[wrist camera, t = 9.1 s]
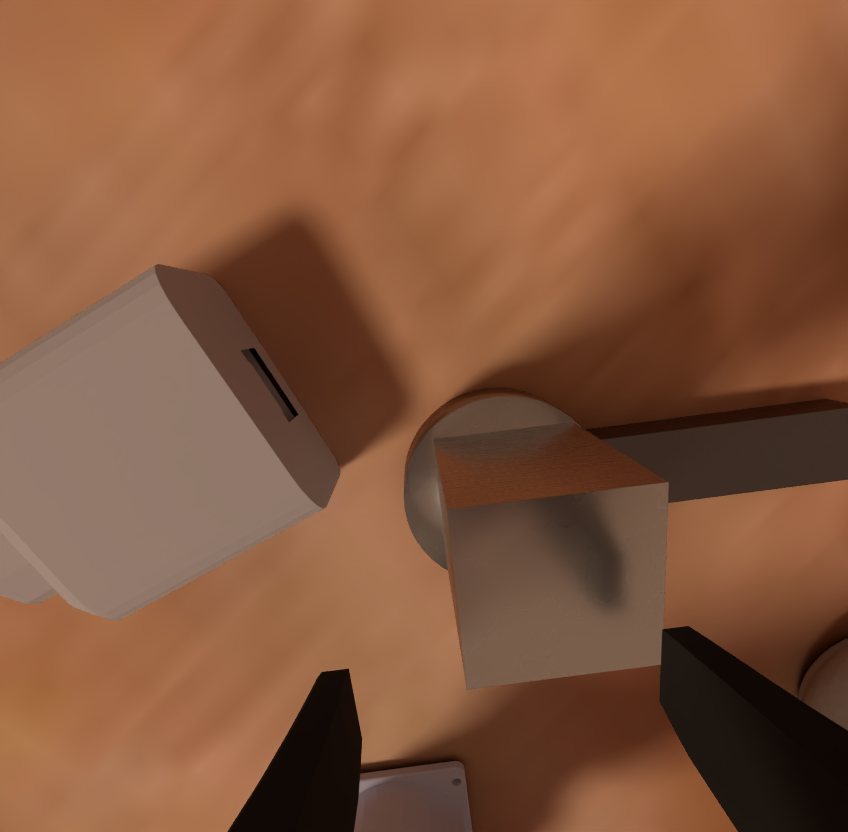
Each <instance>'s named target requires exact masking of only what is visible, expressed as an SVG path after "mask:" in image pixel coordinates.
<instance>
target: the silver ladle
mask: <svg viewBox="0 0 848 832" xmlns="http://www.w3.org/2000/svg"><path fill="white" fill-rule="evenodd" d="M569 422H573V423H575V424H576V425H578V426H580V425H579V424H578V423H577V422H575V421H574V420H573V419H572V418H571V417H569V416H568V415H567V414H565V413H564V412H562V411H561V410H559V409H557V408H556V407H554V406H552V405H551V404H549V403H547V402H546V401H544V400H542V399H540V398H538V397H536V396H534V395H532V394H529V393H526V392H524V391H520V390H515V389H510V388H486V389H481V390H476V391H472V392H469V393H466V394H463V395H460V396H458V397H456V398H454V399H452V400H450V401H449V402H447V403H446V404H444V405H443V406H441V407H440V408H439V409H437V410H436V411H435V412H434V413H433V414H431V416H430V417H429V418H428V419H427V420H426V421H425V422H424V423H423V425H422V426H421V428H420V429H419V430H418V432H417V433H416V435H415V437H414V439H413V441H412V443H411V446H410V448H409V451H408V454H407V459H406V464H405V476H404V504H405V512H406V516H407V521H408V523H409V526H410V529H411V531H412V533H413V535H414V537H415V539H416V540H417V542H418V543H419V545H420V546H421V547H422V549H423V550H424V551H425V552H426V553H427V554H428V556H429V557H430V558H431V559H432V560H434V561H435V562H436V563H438V564H439V565H440V566H441V567H443V568H445V569H446V570H448V567H447V560H446V552H445V543H444V534H443V526H442V517H441V508H440V500H439V491H438V482H437V473H436V465H435V456H434V447H433V439H437V438H445V437H454V436H462V435H470V434H478V433H486V432H495V431H503V430H511V429H519V428H528V427H536V426H544V425H552V424H560V423H569ZM580 427H581V426H580ZM581 428H582V427H581ZM586 431H588V432H589V433H591V434H592V435H594V436H596V437H597V438H599V439H600V440H602V441H604V442H605V443H607V444H608V445H610V446H612V447H613V448H615V449H616V450H618V451H620V452H621V453H623V454H625V455H626V456H628V457H629V458H631V459H633V460H634V461H636V462H637V463H639V464H641V465H642V466H644V467H645V468H647V469H649V470H650V471H652V472H653V473H655V474H657V475H658V476H660V477H661V478H663V479H665V480H666V481H668V482H669V489H668V503H671V502H679V501H686V500H694V499H702V498H709V497H717V496H725V495H732V494H740V493H748V492H755V491H763V490H771V489H778V488H786V487H794V486H802V485H809V484H817V483H825V482H832V481H840V480H848V403H845V402H839V401H834V400H829V399H820V400H812V401H805V402H797V403H789V404H781V405H773V406H766V407H758V408H750V409H742V410H735V411H727V412H719V413H711V414H703V415H696V416H688V417H680V418H672V419H665V420H657V421H649V422H641V423H633V424H626V425H618V426H610V427H602V428H594V429H587V430H586Z"/></svg>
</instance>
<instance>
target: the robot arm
mask: <svg viewBox="0 0 848 832" xmlns="http://www.w3.org/2000/svg"><path fill="white" fill-rule="evenodd" d="M660 703H661V705H662V707H663V709H664V711H665V713H666V715H667V717H668V718H669V720H670V722H671V724H672V726H673V728H674V730H675V732H676V734H677V736H678V737H679V739H680V741H681V743H682V745H683V747H684V748H685V750H686V752H687V754H688V756H689V757H690V759H691V760H692V762H693V764H694V765H695V767H696V768H697V770H698V771H699V773H700V774H701V776H702V777H703V779H704V780H705V782H706V784H707V785H708V787H709V788H710V790H711V791H712V793H713V794H714V796H715V797H716V799H717V800H718V802H719V803H720V805H721V807H722V808H723V810H724V811H725V813H726V814H727V816H728V817H729V819H730V820H731V822H732V823H733V825H734V826H735V828H736V829H737V831H738V832H848V730H846V729H845V728H843V727H842V726H840V725H838V724H837V723H835V722H834V721H832V720H830V719H829V718H827V717H826V716H824V715H822V714H821V713H819V712H818V711H816V710H815V709H813V708H812V707H810V706H808V705H807V704H805V703H804V702H802V701H801V700H799V699H798V698H796V697H795V696H793V695H791V694H790V693H788V692H787V691H785V690H784V689H782V688H781V687H779V686H778V685H776V684H775V683H773V682H772V681H770V680H769V679H767V678H766V677H764V676H763V675H761V674H760V673H758V672H757V671H755V670H754V669H752V668H751V667H749V666H748V665H746V664H745V663H743V662H742V661H740V660H739V659H737V658H736V657H734V656H733V655H731V654H730V653H728V652H727V651H725V650H724V649H722V648H721V647H720V646H718V645H717V644H715V643H714V642H712V641H711V640H709V639H708V638H706V637H704V636H703V635H701V634H700V633H698V632H697V631H695V630H694V629H692V628H691V627H689V626H686V627H678V628H670V629H662V646H661V675H660ZM361 750H362V736H361V731H360V726H359V720H358V715H357V710H356V705H355V699H354V694H353V689H352V684H351V678H350V673H349V669H343V670H335V671H327V672H322V673H321V674H320V675H319V676H318V678H317V680H316V682H315V684H314V685H313V687H312V689H311V691H310V693H309V695H308V697H307V699H306V701H305V703H304V704H303V706H302V708H301V710H300V712H299V714H298V716H297V717H296V719H295V721H294V723H293V725H292V726H291V728H290V730H289V732H288V734H287V735H286V737H285V739H284V741H283V742H282V744H281V746H280V747H279V749H278V751H277V753H276V754H275V756H274V758H273V759H272V761H271V763H270V764H269V766H268V768H267V770H266V771H265V773H264V775H263V776H262V778H261V780H260V781H259V783H258V785H257V786H256V788H255V789H254V791H253V793H252V794H251V796H250V797H249V799H248V800H247V802H246V804H245V805H244V807H243V808H242V810H241V811H240V813H239V815H238V816H237V818H236V819H235V821H234V822H233V824H232V825H231V827H230V829H229V830H228V832H472V824H471V816H470V809H469V801H468V793H467V785H466V777H465V769H464V765H463V764H462V763H461V762H459V761H450V762H442V763H435V764H427V765H420V766H413V767H405V768H398V769H390V770H383V771H375V772H368V773H360V769H361Z"/></svg>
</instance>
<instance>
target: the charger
mask: <svg viewBox="0 0 848 832" xmlns="http://www.w3.org/2000/svg"><path fill="white" fill-rule="evenodd" d="M250 348H255V350H256V351H257V353H258V354H259V356H260V357H261V359H262V360H263V362H264V363H265V365H266V366H267V368H268V369H269V371H270V372H271V374H272V375H273V377H274V378H275V380H276V381H277V383H278V384H279V386H280V387H281V389H282V390H283V392H284V393H285V395H286V396H287V398H288V399H289V401H290V402H291V404H292V405H293V407H294V408H295V410H296V411H297V413H298V415H297V416H296V417H294V416H293V414H292V413H291V411H290V410H289V408H288V407H287V405H286V404H285V402H284V401H283V399H282V398H281V396H280V395H279V393H278V392H277V390H276V389H275V387H274V386H273V384H272V383H271V381H270V380H269V378H268V377H267V376H266V374H265V373H264V371H263V370H262V368H261V367H260V365H259V364H258V362H257V361H256V359H255V358H254V356H253V355H252V353H251V352H250V350H249V349H250ZM339 476H340V468H339V465H338V463H337V461H336V458H335V457H334V455H333V454H332V452H331V451H330V449H329V447H328V446H327V444H326V443H325V441H324V440H323V438H322V437H321V435H320V434H319V432H318V431H317V429H316V428H315V426H314V424H313V423H312V421H311V420H310V418H309V417H308V415H307V414H306V412H305V411H304V409H303V408H302V406H301V405H300V403H299V402H298V400H297V399H296V397H295V396H294V394H293V393H292V391H291V390H290V388H289V387H288V385H287V384H286V382H285V380H284V379H283V377H282V376H281V374H280V373H279V371H278V370H277V368H276V367H275V365H274V364H273V362H272V361H271V359H270V358H269V356H268V355H267V353H266V352H265V350H264V349H263V347H262V346H261V344H260V343H259V341H258V340H257V338H256V336H255V335H254V333H253V332H252V330H251V329H250V327H249V326H248V324H247V323H246V321H245V320H244V318H243V317H242V315H241V314H240V312H239V311H238V309H237V308H236V306H235V305H234V303H233V302H232V300H231V299H230V297H229V296H228V294H227V293H226V291H225V290H224V289H223V288H222V287H221V286H220V285H219V283H217V282H216V281H215V280H214V279H213V278H212V277H210V276H209V275H206V274H201V273H197V272H192V271H188V270H183V269H179V268H174V267H170V266H165V265H161V264H158V265H155V266H153V267H152V268H150V269H149V270H147V271H146V272H144V273H142V274H141V275H139V276H138V277H136V278H134V279H133V280H131V281H130V282H128V283H127V284H125V285H123V286H122V287H120V288H119V289H117V290H115V291H114V292H112V293H111V294H109V295H108V296H106V297H104V298H103V299H101V300H100V301H98V302H96V303H95V304H93V305H92V306H90V307H89V308H87V309H85V310H84V311H82V312H81V313H79V314H77V315H76V316H74V317H73V318H71V319H70V320H68V321H66V322H65V323H63V324H62V325H60V326H58V327H57V328H55V329H54V330H52V331H51V332H49V333H47V334H46V335H44V336H43V337H41V338H39V339H38V340H36V341H35V342H33V343H32V344H30V345H28V346H27V347H25V348H24V349H22V350H20V351H19V352H17V353H16V354H14V355H13V356H11V357H9V358H8V359H6V360H5V361H3V362H1V363H0V596H3V597H6V598H9V599H12V600H15V601H18V602H21V603H24V604H31V603H42V602H44V601H45V600H47V599H49V598H51V597H52V596H54V595H56V594H58V593H59V595H60V596H61V597H62V598H63V599H64V600H65V601H67V602H68V603H69V604H70V605H71V606H73V607H75V608H77V609H79V610H82V611H85V612H88V613H91V614H94V615H97V616H100V617H103V618H106V619H109V620H121V619H123V618H125V617H126V616H128V615H130V614H132V613H134V612H136V611H137V610H139V609H141V608H143V607H145V606H147V605H148V604H150V603H152V602H154V601H156V600H157V599H159V598H161V597H163V596H165V595H167V594H168V593H170V592H172V591H174V590H176V589H178V588H179V587H181V586H183V585H185V584H187V583H189V582H190V581H192V580H194V579H196V578H198V577H200V576H201V575H203V574H205V573H207V572H209V571H210V570H212V569H214V568H216V567H218V566H220V565H221V564H223V563H225V562H227V561H229V560H231V559H232V558H234V557H236V556H238V555H240V554H242V553H243V552H245V551H247V550H249V549H251V548H252V547H254V546H256V545H258V544H260V543H262V542H263V541H265V540H267V539H269V538H271V537H273V536H274V535H276V534H278V533H280V532H282V531H284V530H285V529H287V528H289V527H291V526H293V525H294V524H296V523H298V522H300V521H302V520H304V519H305V518H307V517H309V516H311V515H313V514H315V513H316V512H318V511H320V510H322V509H324V508H325V507H327V504H328V502H329V500H330V497H331V495H332V493H333V490H334V488H335V486H336V483H337V481H338V479H339Z"/></svg>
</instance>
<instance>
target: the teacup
mask: <svg viewBox="0 0 848 832" xmlns="http://www.w3.org/2000/svg"><path fill="white" fill-rule="evenodd" d="M798 699H799V700H801V701H802V702H804V703H805V704H807V705H808V706H810V707H812V708H813V709H815V710H816V711H818V712H819V713H821V714H822V715H824V716H826V717H827V718H829V719H830V720H832V721H834V722H835V723H837V724H838V725H840V726H842V727H843V728H845V729H846V730H848V638H846V639H844V640H842V641H840V642H839V643H837V644H835V645H833V646H832V647H830V648H829V649H827V650H826V651H825V652H824V653H823V654H821V655H820V656H819V657H818V658H817V659H816V660H815V661H814V663H813V664H812V665H811V666H810V668H809V669H808V671H807V672H806V674H805V676H804V678H803V681H802V683H801V686H800V689H799V695H798Z"/></svg>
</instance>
